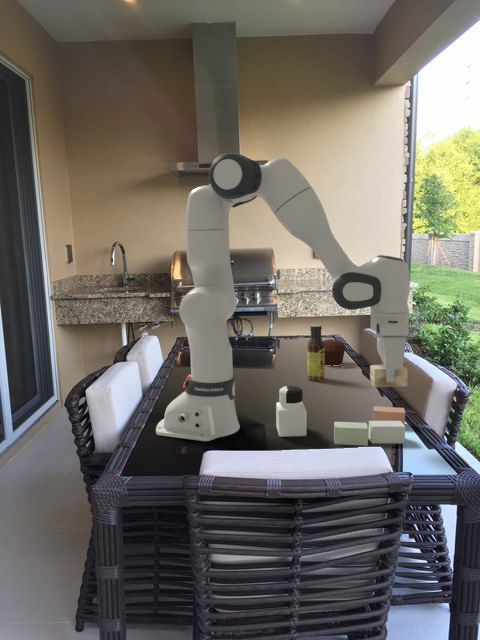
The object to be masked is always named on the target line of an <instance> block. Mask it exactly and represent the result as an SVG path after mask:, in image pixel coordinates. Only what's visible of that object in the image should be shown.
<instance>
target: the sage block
mask: <svg viewBox="0 0 480 640" xmlns="http://www.w3.org/2000/svg"><path fill="white" fill-rule="evenodd" d="M368 436H369V425H368V424H367V422H353V421H352V422H351V421H350V422H349V421H333V442H334V445H345V446H346V445H347V446H366V447H367V446H369V444H368V443H369V437H368Z"/></svg>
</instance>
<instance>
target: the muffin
mask: <svg viewBox="0 0 480 640" xmlns="http://www.w3.org/2000/svg"><path fill="white" fill-rule="evenodd" d="M322 341H323V344H324V347H325V365H331V366H333V365H340V364H342V365H343V362H344V358H345V356H344V355H345V351H346V350H347V347H346V345H345V344H344V343H343V342H341V341H339V340H338V339H335V338H333V339H332V338H330V339H325V340H322ZM340 366H341V365H340Z"/></svg>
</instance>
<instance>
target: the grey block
mask: <svg viewBox="0 0 480 640" xmlns="http://www.w3.org/2000/svg"><path fill="white" fill-rule="evenodd" d="M405 439H406V426H404V424H403V423H402V422H401V421H373V420H368V440H369V441H370V443H371V444H405V441H406V440H405Z"/></svg>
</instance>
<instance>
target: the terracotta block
mask: <svg viewBox="0 0 480 640" xmlns="http://www.w3.org/2000/svg"><path fill="white" fill-rule="evenodd" d="M372 413H373V418H372V419H373V420H372V421H401V422H402V423H403V424H404V426H405V425H406V411H405V408H404V407H393V406H392V407H391V406H377V405H376V406H374V405H373V412H372ZM405 427H406V426H405Z"/></svg>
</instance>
